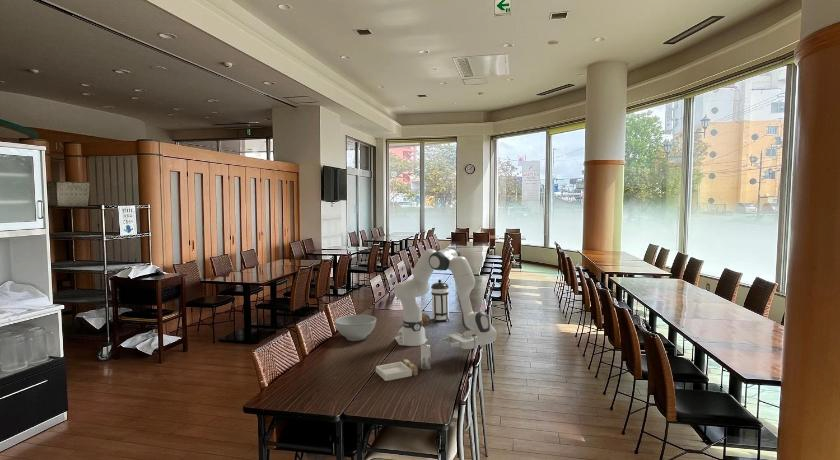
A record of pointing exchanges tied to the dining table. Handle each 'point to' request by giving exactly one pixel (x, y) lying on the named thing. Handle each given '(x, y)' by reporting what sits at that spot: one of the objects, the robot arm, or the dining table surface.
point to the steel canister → (425, 356)
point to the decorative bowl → (355, 326)
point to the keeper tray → (393, 371)
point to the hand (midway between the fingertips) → (446, 342)
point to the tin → (425, 319)
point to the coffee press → (440, 301)
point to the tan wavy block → (411, 366)
